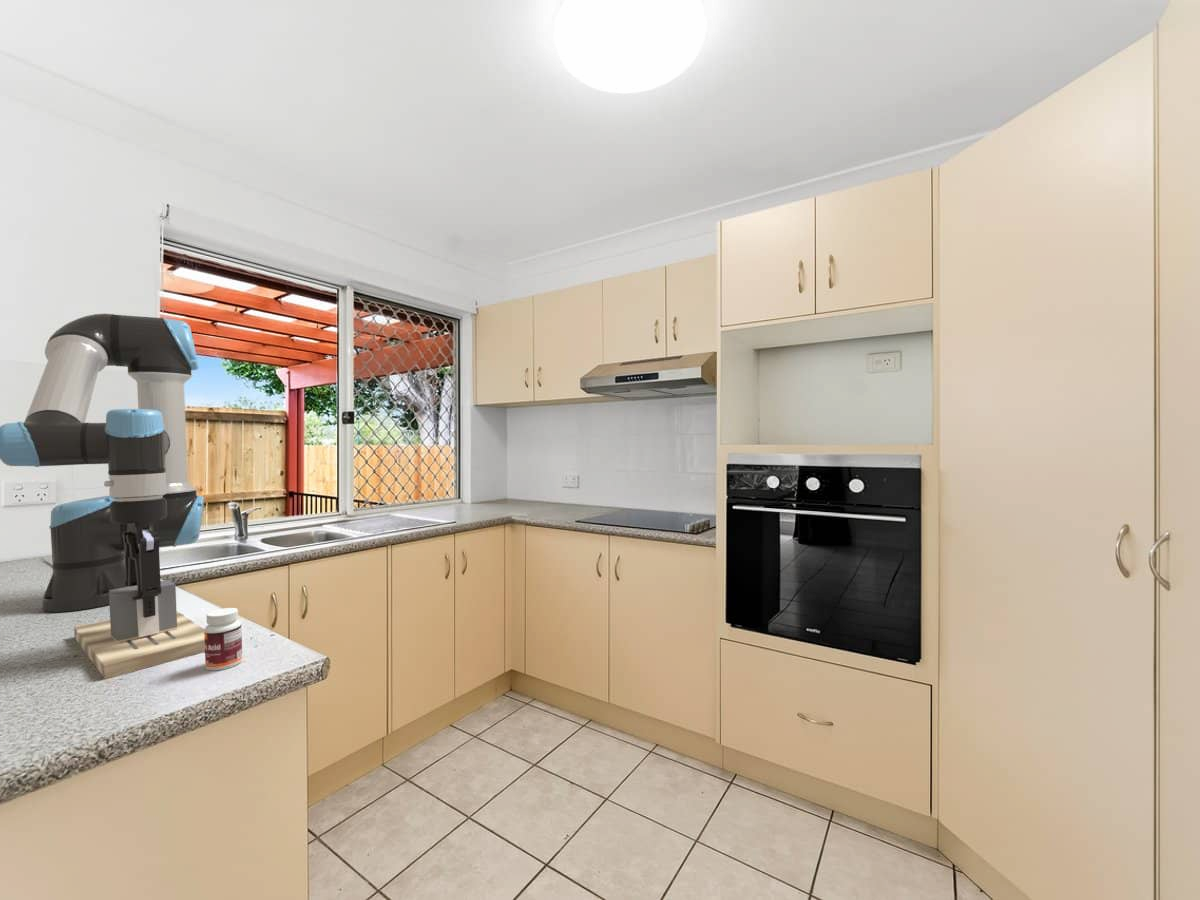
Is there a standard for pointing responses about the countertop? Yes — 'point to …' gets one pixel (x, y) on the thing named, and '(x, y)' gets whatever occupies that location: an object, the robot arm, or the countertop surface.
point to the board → (138, 646)
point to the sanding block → (126, 611)
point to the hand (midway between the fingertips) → (144, 630)
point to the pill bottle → (223, 639)
